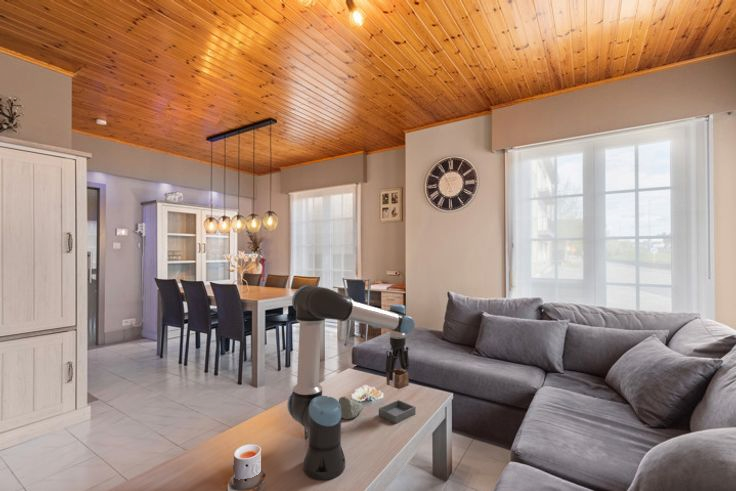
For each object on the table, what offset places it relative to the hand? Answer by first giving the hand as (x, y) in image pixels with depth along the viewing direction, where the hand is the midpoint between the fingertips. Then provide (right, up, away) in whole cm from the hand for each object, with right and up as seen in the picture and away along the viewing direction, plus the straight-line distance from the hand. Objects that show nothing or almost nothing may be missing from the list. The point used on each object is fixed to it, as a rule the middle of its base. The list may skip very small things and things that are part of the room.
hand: (397, 384), depth 166 cm
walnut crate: (0, 0, 0) cm, 0 cm away
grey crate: (0, -15, 0) cm, 15 cm away
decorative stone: (-23, -15, -1) cm, 27 cm away
